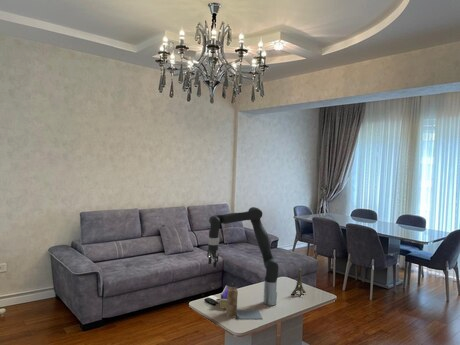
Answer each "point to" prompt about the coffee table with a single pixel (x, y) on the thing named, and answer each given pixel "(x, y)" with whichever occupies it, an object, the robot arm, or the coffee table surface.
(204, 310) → the coffee table surface
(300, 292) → the eiffel tower
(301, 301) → the coffee table surface
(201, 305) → the coffee table surface
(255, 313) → the mat
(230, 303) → the walnut block
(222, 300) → the toy sofa
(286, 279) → the coffee table surface
